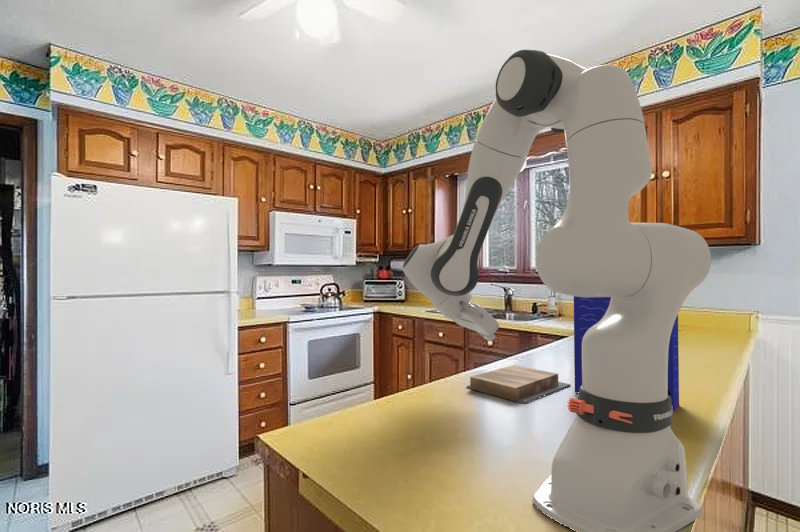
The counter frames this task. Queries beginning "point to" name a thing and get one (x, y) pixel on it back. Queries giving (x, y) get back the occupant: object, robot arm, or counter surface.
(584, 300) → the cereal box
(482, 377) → the board
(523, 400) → the mat
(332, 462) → the counter surface
